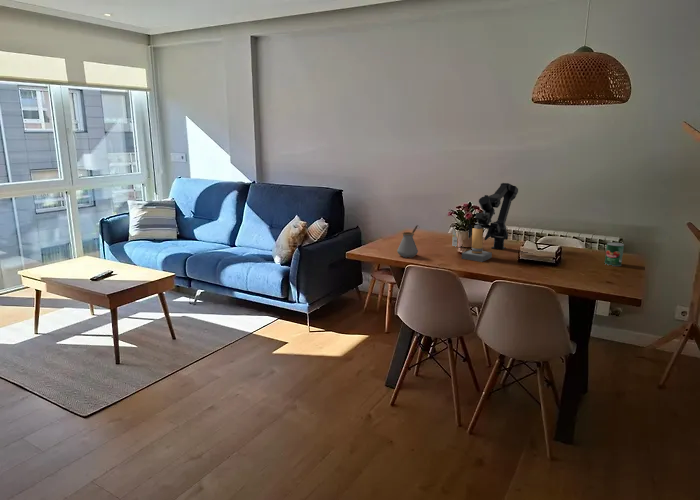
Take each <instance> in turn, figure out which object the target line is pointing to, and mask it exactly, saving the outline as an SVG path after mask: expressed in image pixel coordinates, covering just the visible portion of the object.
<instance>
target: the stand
mask: <svg viewBox="0 0 700 500" xmlns="http://www.w3.org/2000/svg"><path fill="white" fill-rule="evenodd" d="M492 255H493V252H492V251H486V250H483V251H482V253H472V250H471V249H469V250H466V251H464V252H462V253H461V259H464V260H469V261H475V262H479V263H483V262H485V261H487V260H490V259H492V257H493V256H492Z"/></svg>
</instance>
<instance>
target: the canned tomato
mask: <svg viewBox="0 0 700 500" xmlns="http://www.w3.org/2000/svg"><path fill="white" fill-rule="evenodd" d="M624 247H625V244H624V243H621V242H615V241H614V242H613V241H609V242H607V243H606V249H605V256H604V257H605V258H604V263H605V264H604V265H606V264H607V266H609V265H612V266H611V267H622V261H623V255H624Z"/></svg>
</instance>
